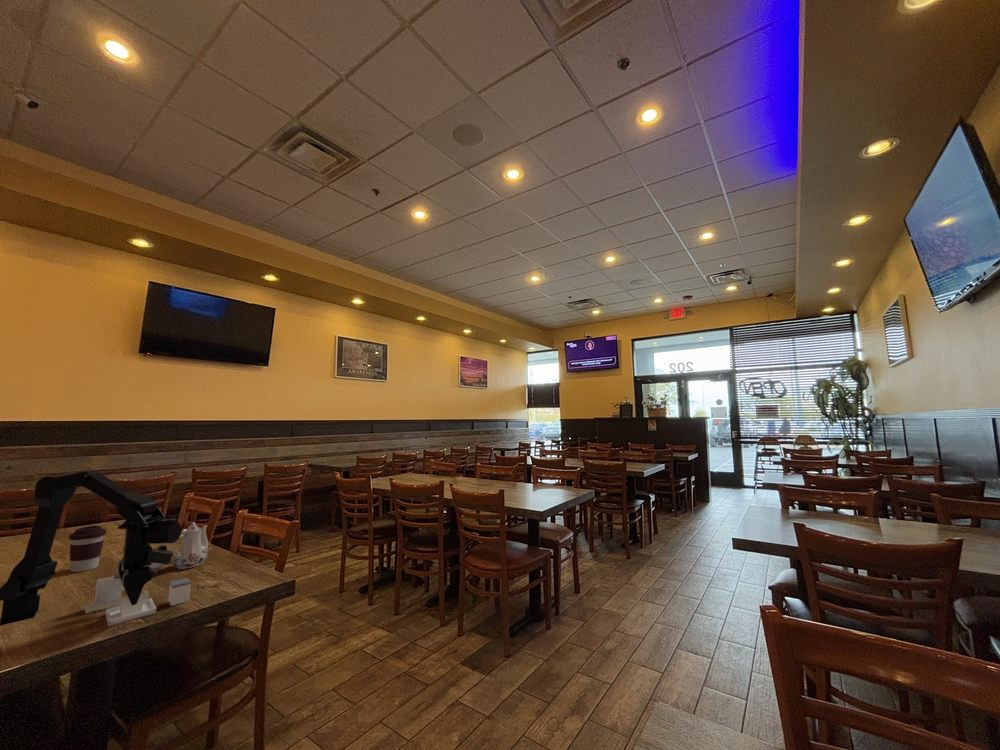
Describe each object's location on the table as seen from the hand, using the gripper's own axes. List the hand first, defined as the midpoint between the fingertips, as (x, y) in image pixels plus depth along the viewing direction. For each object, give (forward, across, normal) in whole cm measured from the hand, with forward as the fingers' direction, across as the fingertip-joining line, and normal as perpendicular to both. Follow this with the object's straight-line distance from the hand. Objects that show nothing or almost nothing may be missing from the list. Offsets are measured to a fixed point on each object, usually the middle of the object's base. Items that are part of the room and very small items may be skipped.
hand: (132, 599), depth 117 cm
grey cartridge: (+4, 0, -11) cm, 12 cm away
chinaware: (+4, +39, -18) cm, 43 cm away
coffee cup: (+4, +61, +8) cm, 62 cm away
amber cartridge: (+3, 0, 0) cm, 3 cm away
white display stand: (+4, +12, +2) cm, 13 cm away
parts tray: (+4, 0, 0) cm, 4 cm away
